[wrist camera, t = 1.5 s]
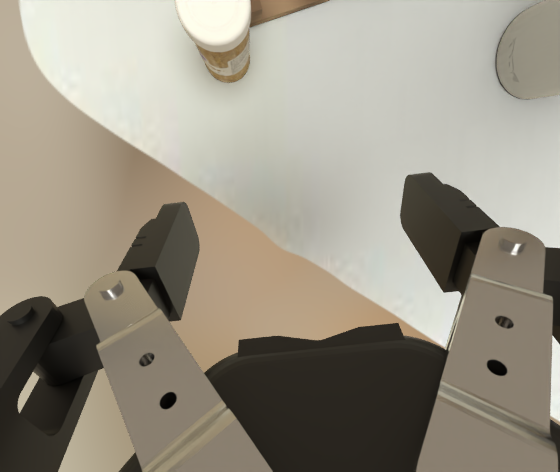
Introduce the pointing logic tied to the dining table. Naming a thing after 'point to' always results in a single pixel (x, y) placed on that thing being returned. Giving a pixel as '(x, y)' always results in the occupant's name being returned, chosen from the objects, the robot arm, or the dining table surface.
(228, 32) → the sprinkles bottle
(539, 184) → the dining table surface
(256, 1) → the tray
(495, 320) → the robot arm
